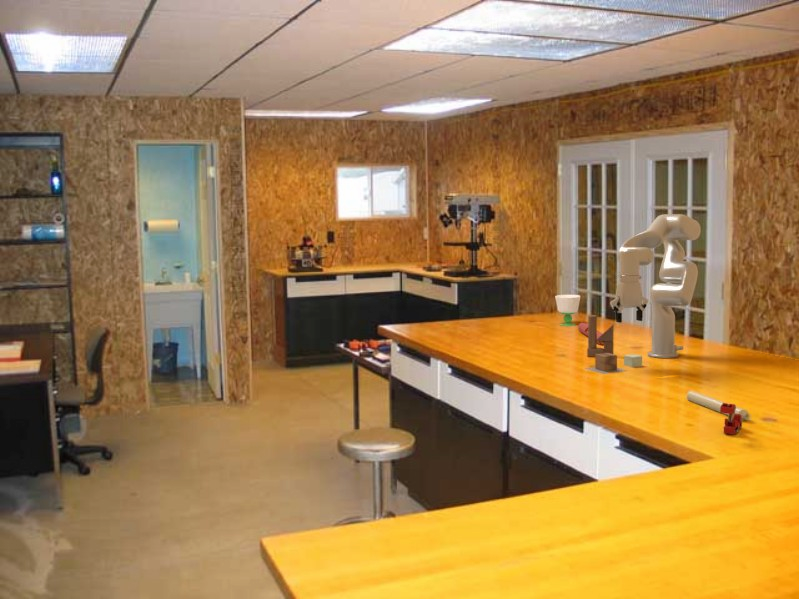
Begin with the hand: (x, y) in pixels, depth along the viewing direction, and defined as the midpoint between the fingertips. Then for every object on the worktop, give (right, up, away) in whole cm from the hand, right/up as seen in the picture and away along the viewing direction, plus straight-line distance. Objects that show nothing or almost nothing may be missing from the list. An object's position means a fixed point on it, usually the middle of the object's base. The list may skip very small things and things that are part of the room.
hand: (629, 321), depth 336 cm
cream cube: (+2, -19, +2) cm, 19 cm away
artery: (+3, -11, +74) cm, 75 cm away
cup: (-1, -5, +119) cm, 119 cm away
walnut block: (-10, -19, -5) cm, 22 cm away
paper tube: (+10, -28, -68) cm, 74 cm away
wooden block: (-5, -16, +27) cm, 32 cm away
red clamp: (+4, -30, -93) cm, 98 cm away
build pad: (-10, -20, -4) cm, 23 cm away
